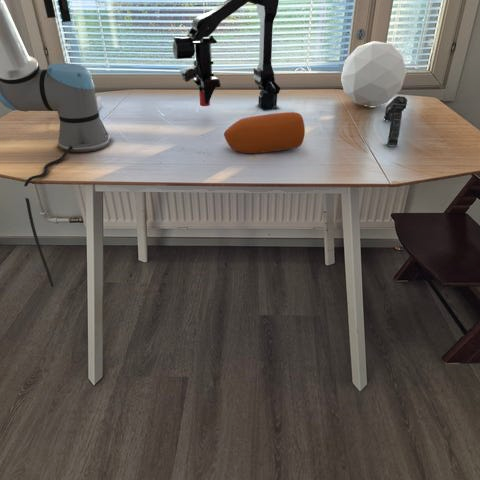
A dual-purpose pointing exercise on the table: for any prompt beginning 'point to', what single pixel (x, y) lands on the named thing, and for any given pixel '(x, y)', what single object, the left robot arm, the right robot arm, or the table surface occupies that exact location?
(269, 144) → the orange tapered rounded cylinder
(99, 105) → the charger
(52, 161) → the left robot arm
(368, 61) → the decorative sphere
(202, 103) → the can
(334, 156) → the table surface
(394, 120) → the futuristic handgun
